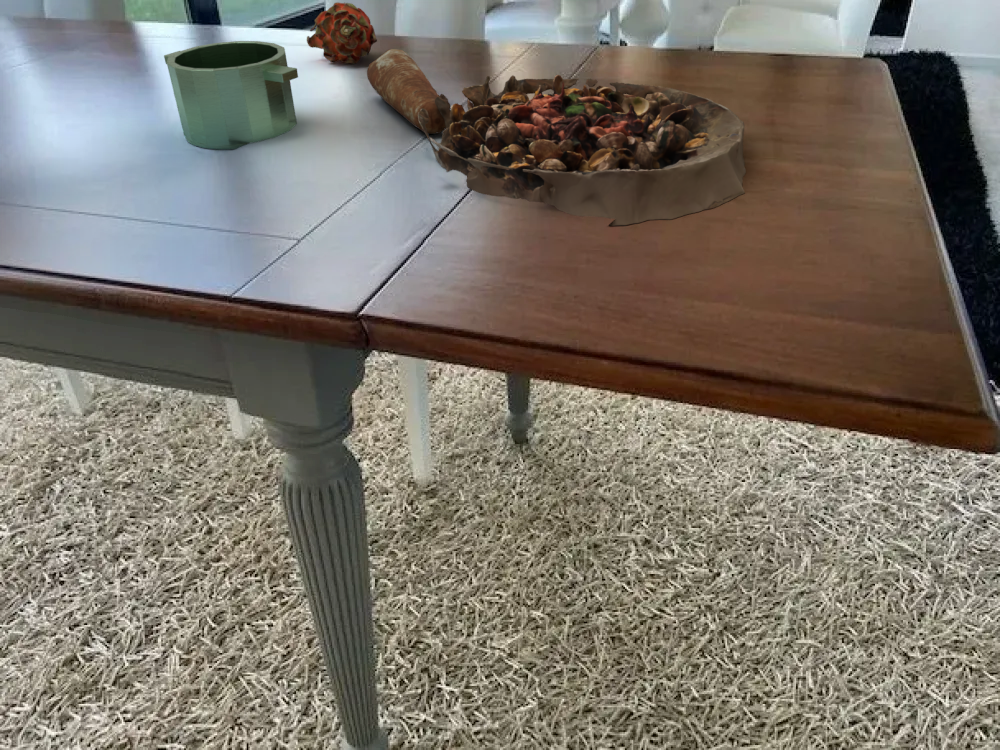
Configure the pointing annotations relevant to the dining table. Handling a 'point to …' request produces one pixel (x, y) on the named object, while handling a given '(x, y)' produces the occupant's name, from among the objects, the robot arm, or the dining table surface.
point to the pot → (232, 93)
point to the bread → (405, 88)
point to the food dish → (594, 148)
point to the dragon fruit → (343, 33)
